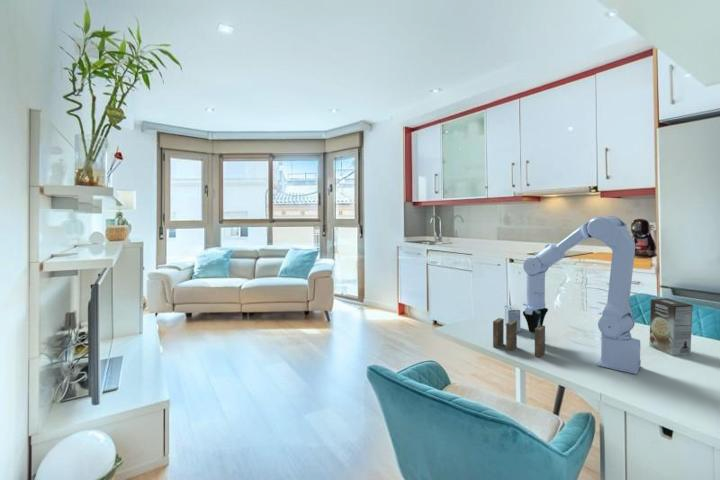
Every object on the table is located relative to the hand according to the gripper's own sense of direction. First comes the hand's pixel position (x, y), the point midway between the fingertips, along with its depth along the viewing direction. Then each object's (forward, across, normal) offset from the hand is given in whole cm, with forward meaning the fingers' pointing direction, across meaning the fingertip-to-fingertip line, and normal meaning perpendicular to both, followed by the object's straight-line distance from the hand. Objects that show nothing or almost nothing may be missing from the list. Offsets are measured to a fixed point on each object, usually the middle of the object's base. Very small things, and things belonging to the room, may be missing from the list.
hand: (535, 330), depth 129 cm
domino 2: (+2, 0, 0) cm, 2 cm away
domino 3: (+5, +10, +4) cm, 12 cm away
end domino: (+4, +10, -9) cm, 14 cm away
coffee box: (+5, -19, +35) cm, 40 cm away
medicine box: (+5, -11, -12) cm, 17 cm away
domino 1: (+5, +10, -5) cm, 12 cm away
